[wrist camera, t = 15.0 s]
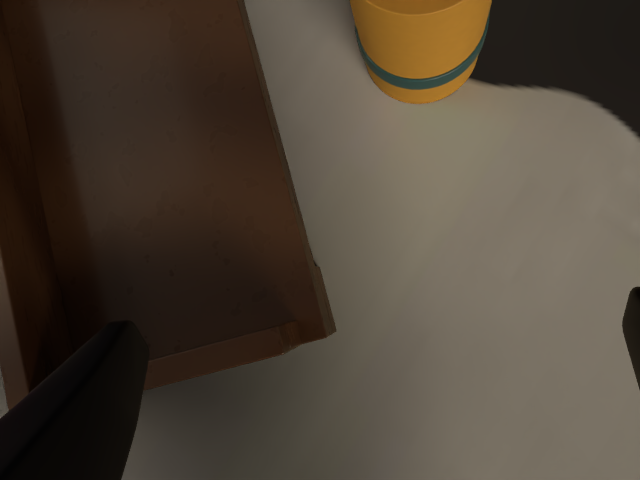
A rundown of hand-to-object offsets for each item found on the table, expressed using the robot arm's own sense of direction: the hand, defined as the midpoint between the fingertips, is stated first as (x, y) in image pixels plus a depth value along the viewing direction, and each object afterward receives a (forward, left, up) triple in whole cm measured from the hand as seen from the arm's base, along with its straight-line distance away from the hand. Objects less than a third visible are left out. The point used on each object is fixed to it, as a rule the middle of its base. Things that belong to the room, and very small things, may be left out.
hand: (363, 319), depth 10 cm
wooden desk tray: (+10, +9, -14) cm, 19 cm away
